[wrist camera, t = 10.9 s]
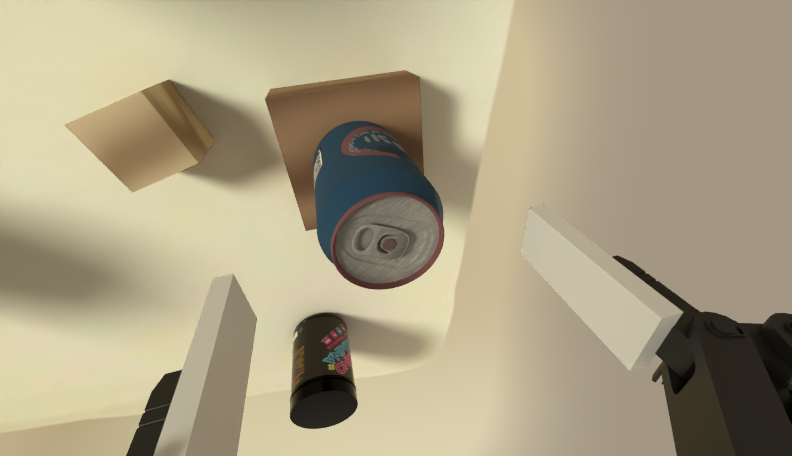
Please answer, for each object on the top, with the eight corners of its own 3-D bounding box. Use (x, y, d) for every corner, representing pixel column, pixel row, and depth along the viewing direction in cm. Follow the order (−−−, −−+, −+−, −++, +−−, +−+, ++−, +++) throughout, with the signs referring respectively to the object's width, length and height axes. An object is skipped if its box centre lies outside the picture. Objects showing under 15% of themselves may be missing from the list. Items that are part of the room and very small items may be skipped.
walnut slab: (270, 89, 25) (265, 99, 21) (405, 70, 26) (419, 77, 23) (305, 208, 31) (305, 230, 28) (413, 187, 32) (425, 206, 29)
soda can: (411, 133, 25) (479, 202, 15) (381, 207, 28) (423, 304, 18) (326, 102, 22) (342, 163, 13) (303, 188, 25) (302, 290, 16)
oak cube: (107, 107, 23) (64, 125, 19) (169, 79, 23) (140, 91, 19) (159, 165, 26) (132, 192, 22) (215, 141, 26) (198, 163, 22)
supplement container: (343, 345, 43) (352, 424, 34) (291, 348, 41) (288, 433, 32) (350, 309, 40) (362, 387, 31) (294, 311, 38) (291, 394, 29)
